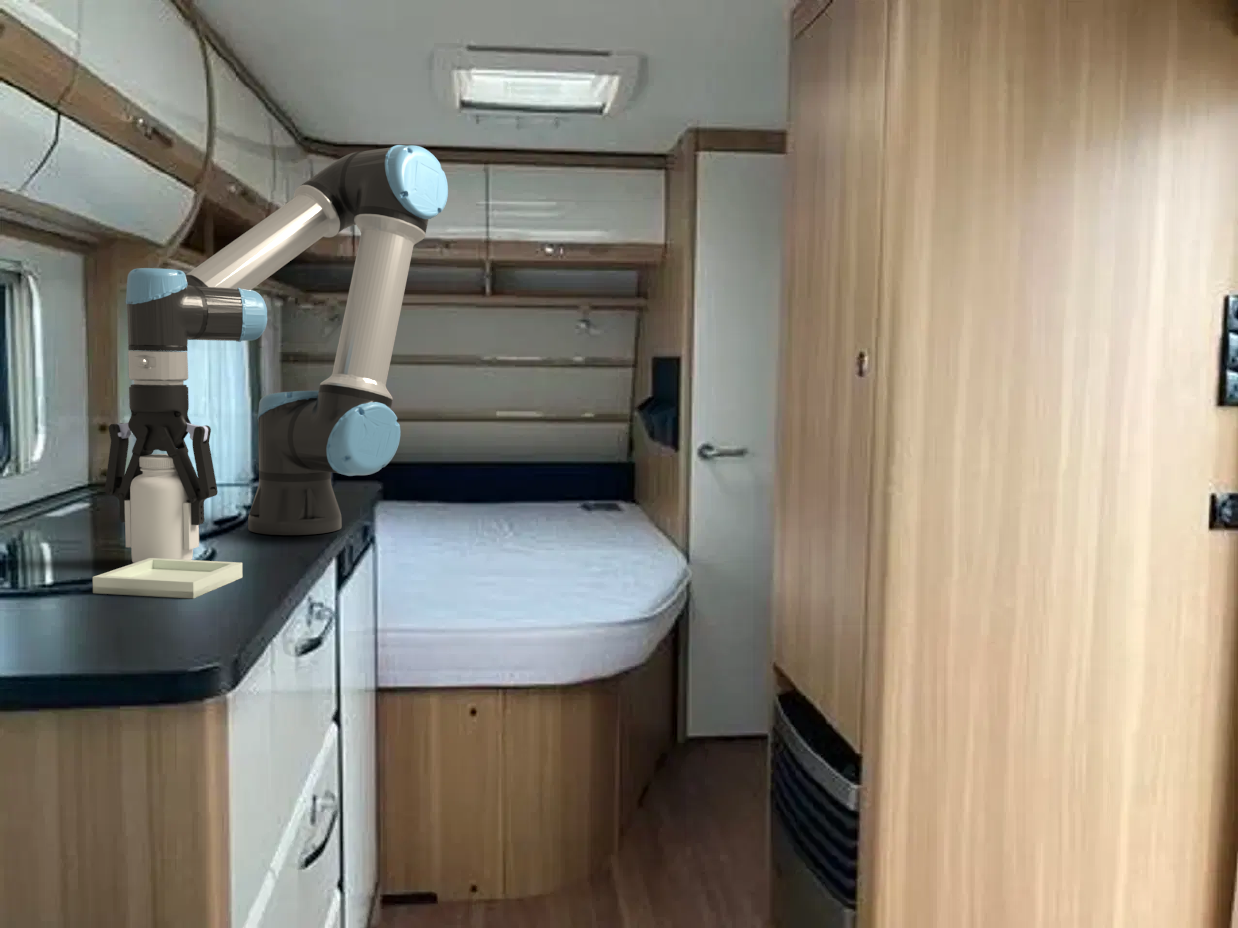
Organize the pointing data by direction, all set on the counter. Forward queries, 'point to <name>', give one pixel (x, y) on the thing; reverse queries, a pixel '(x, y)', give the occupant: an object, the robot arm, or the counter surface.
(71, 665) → the counter surface
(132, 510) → the pill bottle
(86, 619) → the counter surface
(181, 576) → the tray
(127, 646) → the counter surface
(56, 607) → the counter surface
